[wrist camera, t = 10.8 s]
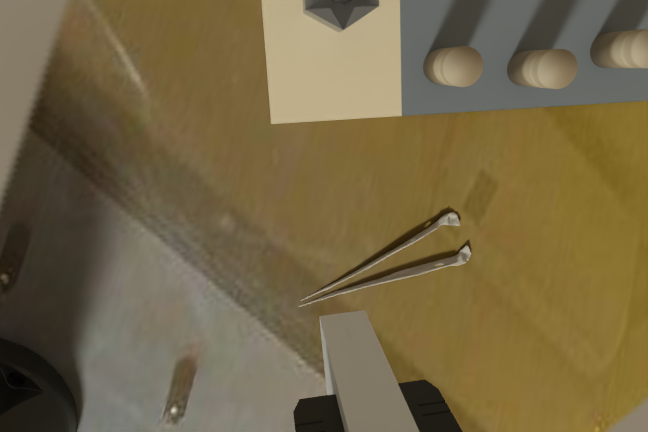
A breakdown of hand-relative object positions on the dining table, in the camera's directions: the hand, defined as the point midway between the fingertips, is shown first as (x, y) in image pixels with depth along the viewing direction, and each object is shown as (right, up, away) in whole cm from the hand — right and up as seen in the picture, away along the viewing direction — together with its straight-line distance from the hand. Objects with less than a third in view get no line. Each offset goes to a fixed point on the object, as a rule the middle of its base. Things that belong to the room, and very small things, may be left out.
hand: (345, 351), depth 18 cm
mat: (+10, +20, +23) cm, 32 cm away
